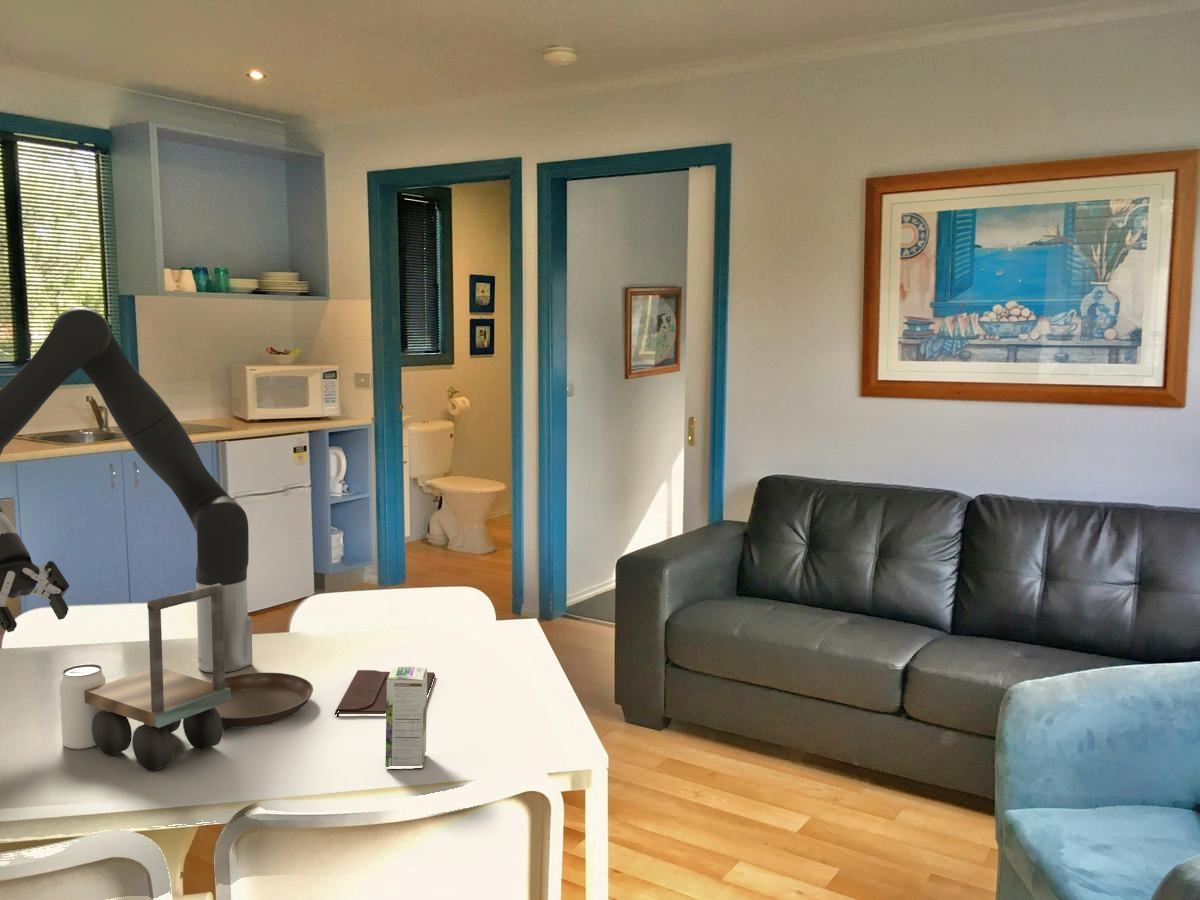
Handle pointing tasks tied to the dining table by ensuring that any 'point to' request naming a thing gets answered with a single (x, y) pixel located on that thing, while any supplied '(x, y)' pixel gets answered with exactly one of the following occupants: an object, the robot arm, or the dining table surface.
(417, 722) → the syrup box
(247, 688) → the plant saucer
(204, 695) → the trolley
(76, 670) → the can
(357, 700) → the notebook
